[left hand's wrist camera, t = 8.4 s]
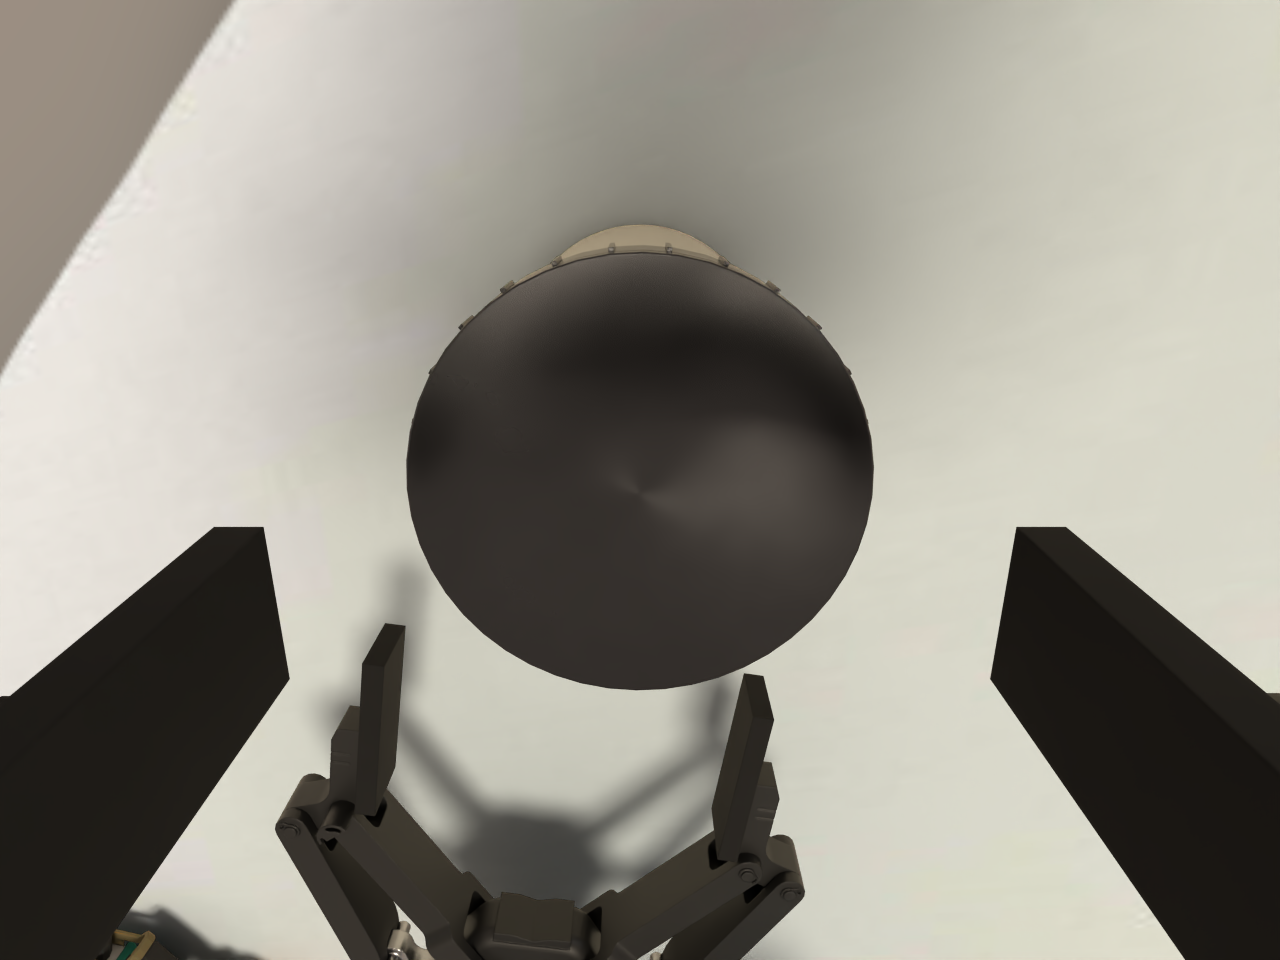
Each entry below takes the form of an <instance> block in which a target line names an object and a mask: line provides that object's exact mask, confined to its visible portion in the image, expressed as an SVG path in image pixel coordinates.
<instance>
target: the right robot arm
mask: <svg viewBox="0 0 1280 960" xmlns="http://www.w3.org/2000/svg"><path fill="white" fill-rule="evenodd" d="M404 639H405V626H402V625H395V624H387V623H385V624H384V626H383V628H382V630H381V632H380V633H379V635H378V637H377V639H376V640H375V642H374V644H373V646H372V647H371V649H370V651H369V653H368V654H367V656H366V658H365V660H364V661H363V663H362V679H361V698H360V707H358V706H350V707H349V708H348V710H347V712H346V714H345V715H344V717H343V719H342V721H341V723H340V725H339V726H338V728H337V730H336V732H335V734H334V736H333V737H332V739H331V762H330V778H329V779H326V778H324V777H323V776H321V775H318V774H308V775H306V776H304V777H303V778H302V779H301V780H300V782H299V784H298V786H297V788H296V789H295V791H294V793H293V795H292V796H291V798H290V800H289V802H288V804H287V805H286V807H285V809H284V811H283V813H282V814H281V816H280V818H279V820H278V821H277V823H276V827H275V831H276V834H277V835H278V837H279V839H280V841H281V842H282V844H283V846H284V847H285V849H286V851H287V852H288V854H289V856H290V858H291V859H292V861H293V863H294V864H295V866H296V868H297V869H298V871H299V873H300V875H301V876H302V878H303V880H304V881H305V883H306V885H307V886H308V888H309V890H310V892H311V893H312V895H313V897H314V898H315V900H316V902H317V903H318V905H319V907H320V909H321V910H322V912H323V914H324V915H325V917H326V919H327V920H328V922H329V924H330V926H331V927H332V929H333V931H334V932H335V934H336V936H337V937H338V939H339V941H340V942H341V944H342V946H343V948H344V949H345V951H346V953H347V954H348V956H349V958H350V959H351V960H637V959H638V958H640V957H641V956H643V955H645V954H646V953H648V952H649V951H651V950H652V949H654V948H656V947H657V946H659V945H660V944H662V943H664V942H665V941H667V940H668V939H670V938H671V940H670V941H669V942H668V944H667V945H666V947H665V949H664V951H663V953H662V954H661V953H659V952H654V953H652V954H651V955H650V960H740V959H741V958H742V957H743V956H744V955H745V954H746V953H747V952H748V951H749V950H750V949H752V948H753V947H754V946H755V945H756V944H757V943H758V942H759V941H760V940H761V939H762V938H763V937H764V936H765V935H766V934H767V933H768V932H769V931H770V930H771V929H772V928H773V927H774V926H775V925H776V924H777V923H778V922H779V921H780V920H781V919H783V918H784V917H785V916H786V915H787V914H788V913H789V912H790V911H791V910H792V909H793V908H794V907H795V906H796V905H797V904H798V903H799V902H800V901H801V900H802V899H803V897H804V894H805V890H804V886H803V881H802V877H801V872H800V868H799V864H798V859H797V855H796V851H795V846H794V843H793V840H792V839H791V838H790V837H788V836H785V835H775V836H772V837H770V836H769V835H770V832H771V828H772V824H773V819H774V817H775V813H776V810H777V806H778V802H779V794H778V790H777V785H776V780H775V776H774V772H773V767H772V763H771V762H763V760H764V757H765V753H766V749H767V745H768V741H769V737H770V734H771V730H772V726H773V722H774V718H773V713H772V709H771V705H770V701H769V697H768V693H767V689H766V685H765V681H764V677H763V676H760V675H752V674H745V673H744V675H743V680H742V684H741V688H740V692H739V696H738V700H737V705H736V709H735V713H734V717H733V721H732V725H731V730H730V734H729V738H728V742H727V746H726V750H725V755H724V759H723V763H722V767H721V771H720V775H719V780H718V784H717V788H716V792H715V796H714V800H713V805H712V816H713V825H714V831H712V832H711V833H709V834H708V835H706V836H705V837H703V838H702V839H700V840H699V841H697V842H696V843H694V844H692V845H691V846H689V847H688V848H686V849H685V850H683V851H682V852H680V853H679V854H677V855H676V856H674V857H673V858H671V859H670V860H668V861H667V862H665V863H664V864H662V865H661V866H659V867H658V868H656V869H655V870H653V871H651V872H650V873H648V874H647V875H645V876H644V877H642V878H641V879H639V880H638V881H636V882H635V883H633V884H632V885H630V886H629V887H627V888H626V889H624V890H623V891H621V892H619V893H616V892H615V891H614V890H609V891H607V892H606V893H604V894H603V895H601V896H599V897H598V898H596V899H595V900H593V901H592V902H590V903H589V904H587V905H586V906H584V907H583V908H581V909H578V908H576V907H574V902H575V901H571V900H562V899H548V900H535V899H532V898H529V897H526V896H523V895H520V894H514V893H505V892H502V894H501V898H495V899H493V897H492V896H491V895H490V894H489V893H488V892H487V891H486V889H485V888H484V887H483V886H482V885H481V884H480V883H479V881H478V880H477V879H476V878H475V877H474V876H473V874H471V873H470V872H465V873H463V874H462V873H460V872H459V871H458V869H457V868H456V867H455V866H454V865H453V864H452V863H451V861H450V860H449V859H448V858H447V857H446V856H445V855H444V853H443V852H442V851H441V850H440V849H439V848H438V847H437V845H436V844H435V843H434V842H433V841H432V840H431V839H430V837H429V836H428V835H427V834H426V833H425V832H424V831H423V829H422V828H421V827H420V826H419V825H418V824H417V823H416V821H415V820H414V819H413V818H412V817H411V816H410V815H409V814H408V812H407V811H406V810H405V809H404V808H403V807H402V806H401V804H400V803H399V802H398V801H397V800H396V799H395V798H394V796H393V795H392V794H391V793H390V792H389V791H388V790H387V786H388V783H389V781H390V779H391V776H392V774H393V771H394V769H395V764H396V750H397V736H398V722H399V709H400V695H401V681H402V667H403V653H404ZM394 902H395V903H396V904H397V905H398V906H399V907H400V909H401V910H402V911H403V912H404V913H405V914H406V915H407V916H408V917H409V918H410V919H411V920H412V921H413V923H414V924H415V925H416V926H417V927H418V928H419V929H420V930H421V931H422V932H423V934H424V936H425V940H426V947H427V949H423V948H420V947H419V946H417V945H416V944H415V942H414V940H413V938H412V936H411V935H410V934H409V931H410V928H411V926H410V924H409V923H408V922H406V921H400V922H399V917H398V912H397V909H396V906H395V904H394Z"/></svg>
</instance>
